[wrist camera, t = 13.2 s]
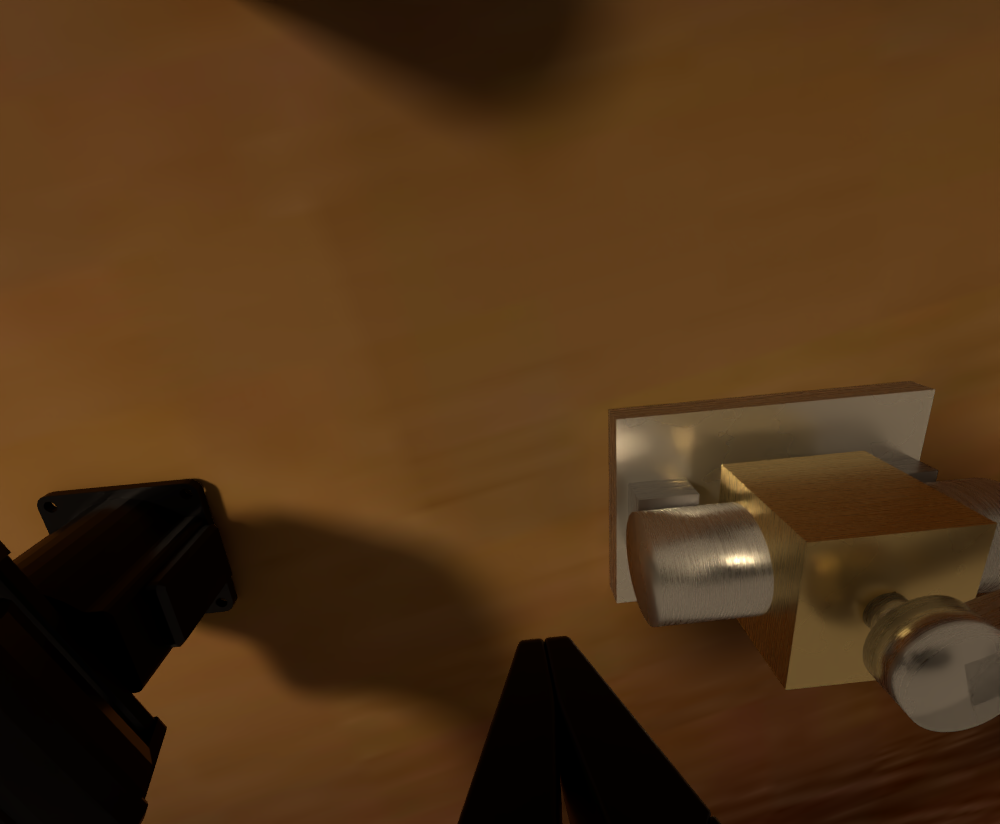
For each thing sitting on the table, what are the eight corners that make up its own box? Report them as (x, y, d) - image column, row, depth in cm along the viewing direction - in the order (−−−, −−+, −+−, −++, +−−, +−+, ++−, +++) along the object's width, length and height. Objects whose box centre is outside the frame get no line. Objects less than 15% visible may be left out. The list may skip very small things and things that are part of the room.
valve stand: (609, 585, 24) (681, 766, 16) (608, 409, 21) (696, 521, 13) (874, 558, 24) (1079, 722, 16) (910, 381, 21) (1184, 472, 13)
